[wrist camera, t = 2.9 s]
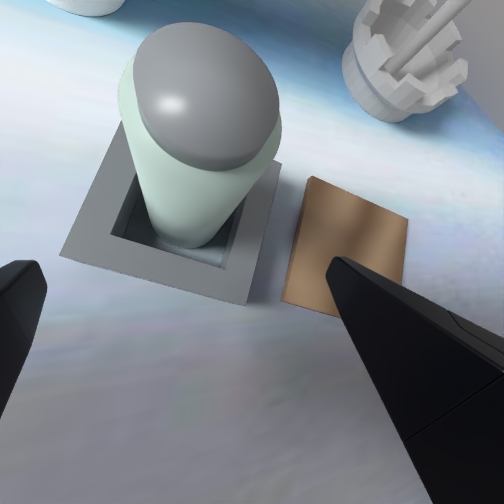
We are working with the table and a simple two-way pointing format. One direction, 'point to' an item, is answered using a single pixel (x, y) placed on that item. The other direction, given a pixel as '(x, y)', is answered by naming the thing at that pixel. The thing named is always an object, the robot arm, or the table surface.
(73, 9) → the cylindrical container
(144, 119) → the grey-lidded mint jar
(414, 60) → the flag stand
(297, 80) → the table surface
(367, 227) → the walnut pad
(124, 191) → the grey square tray
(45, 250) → the table surface
